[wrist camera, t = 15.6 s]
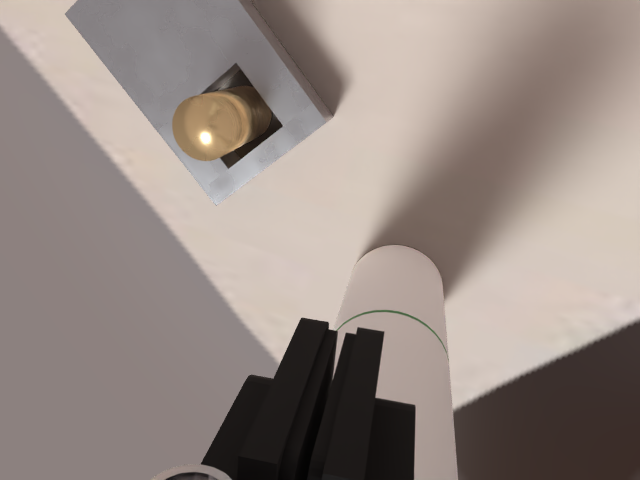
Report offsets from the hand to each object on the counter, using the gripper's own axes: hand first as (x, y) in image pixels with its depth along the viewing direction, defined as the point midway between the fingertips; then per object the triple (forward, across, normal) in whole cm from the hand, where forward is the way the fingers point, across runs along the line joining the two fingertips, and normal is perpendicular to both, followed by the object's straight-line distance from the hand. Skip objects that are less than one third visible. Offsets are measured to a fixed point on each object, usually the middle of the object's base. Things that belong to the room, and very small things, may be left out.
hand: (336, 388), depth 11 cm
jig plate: (+29, +14, -4) cm, 32 cm away
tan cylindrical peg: (+29, +11, -1) cm, 31 cm away
